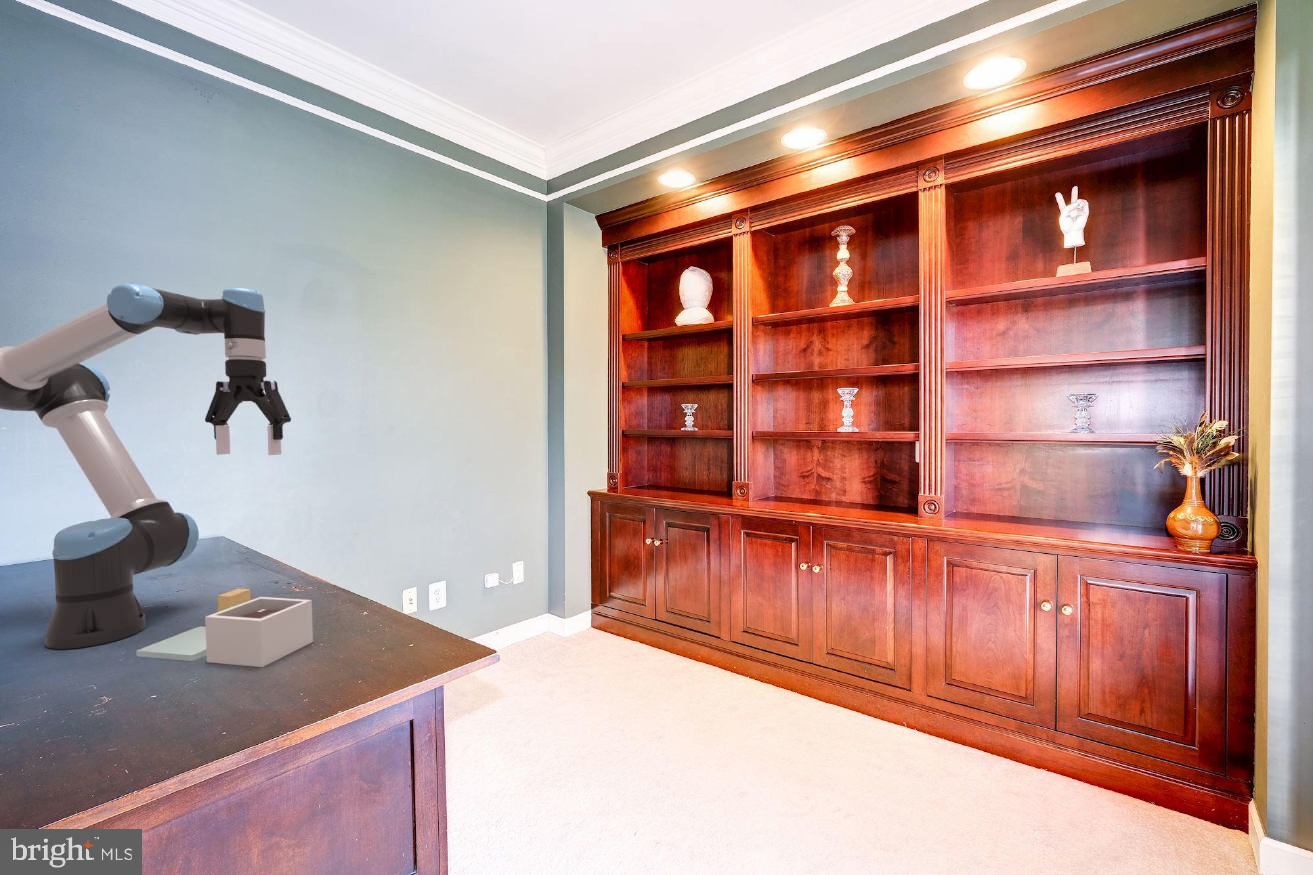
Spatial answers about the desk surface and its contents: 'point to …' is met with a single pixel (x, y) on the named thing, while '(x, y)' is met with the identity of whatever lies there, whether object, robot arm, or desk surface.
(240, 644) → the tub
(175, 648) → the lid
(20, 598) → the desk surface
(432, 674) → the desk surface
